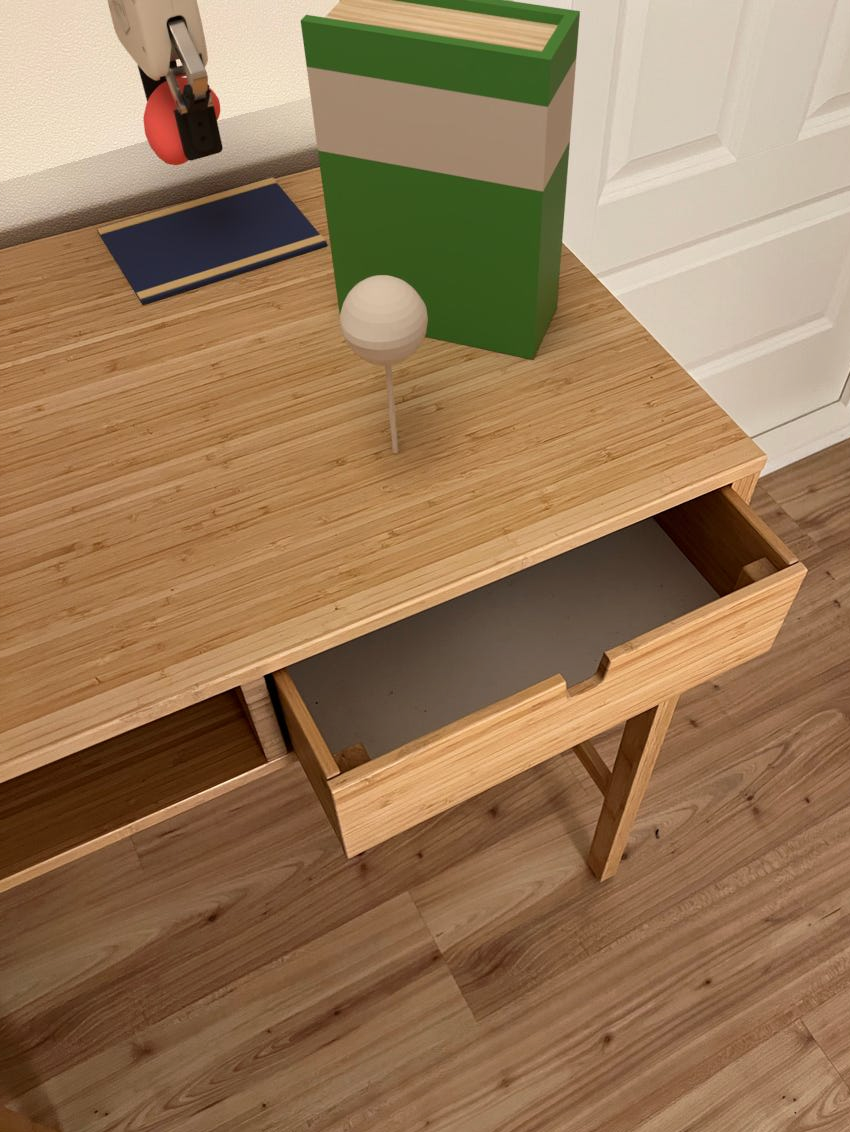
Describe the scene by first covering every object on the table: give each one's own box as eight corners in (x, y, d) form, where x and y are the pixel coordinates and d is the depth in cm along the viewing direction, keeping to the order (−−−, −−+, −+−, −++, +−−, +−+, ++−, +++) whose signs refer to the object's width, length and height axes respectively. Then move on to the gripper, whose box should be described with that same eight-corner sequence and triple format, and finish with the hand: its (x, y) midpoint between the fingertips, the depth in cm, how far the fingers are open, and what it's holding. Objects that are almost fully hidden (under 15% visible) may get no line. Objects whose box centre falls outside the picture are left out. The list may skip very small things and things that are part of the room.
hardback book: (340, 318, 87) (300, 20, 67) (371, 270, 91) (342, -24, 72) (533, 359, 84) (550, 59, 64) (557, 307, 88) (579, 11, 68)
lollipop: (386, 414, 80) (370, 246, 68) (448, 441, 78) (443, 273, 66) (341, 461, 77) (316, 293, 65) (405, 490, 75) (391, 323, 63)
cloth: (142, 305, 88) (141, 300, 88) (97, 231, 95) (95, 227, 94) (327, 246, 93) (326, 241, 93) (272, 180, 100) (271, 175, 99)
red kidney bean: (131, 169, 87) (121, 124, 81) (175, 87, 89) (168, 36, 82) (188, 197, 87) (181, 154, 81) (231, 114, 89) (227, 66, 83)
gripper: (41, -140, 75) (111, 98, 89) (115, -58, 66) (179, 192, 80) (138, -157, 77) (191, 78, 91) (221, -80, 68) (266, 167, 82)
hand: (185, 130), depth 86 cm, fingers closed on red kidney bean, 8 cm apart
